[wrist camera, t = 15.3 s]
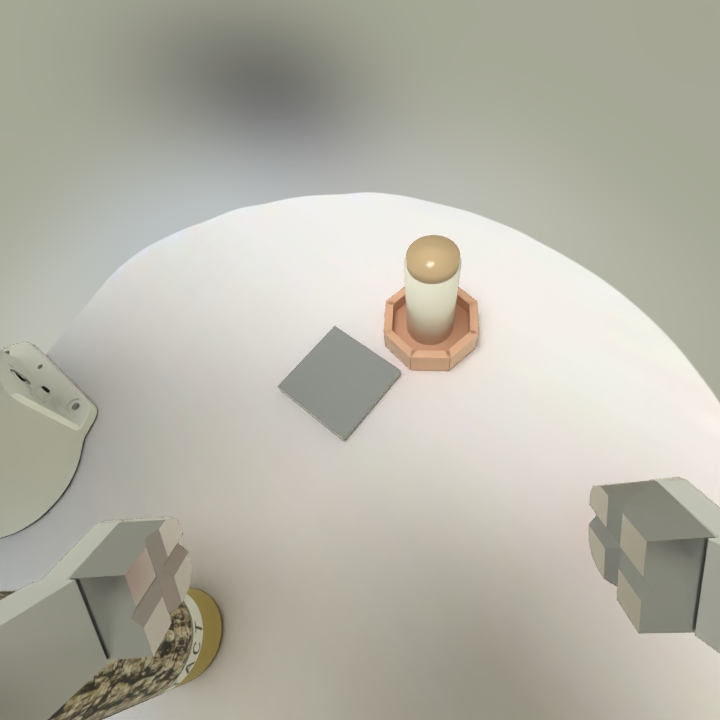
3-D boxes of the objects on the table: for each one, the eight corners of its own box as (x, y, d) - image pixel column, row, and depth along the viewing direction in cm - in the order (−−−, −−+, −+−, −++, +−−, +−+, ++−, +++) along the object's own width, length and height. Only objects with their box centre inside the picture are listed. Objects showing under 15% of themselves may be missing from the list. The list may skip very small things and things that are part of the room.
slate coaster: (280, 390, 45) (277, 386, 44) (336, 330, 48) (334, 326, 47) (344, 441, 42) (342, 438, 41) (400, 374, 45) (400, 370, 44)
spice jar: (397, 325, 46) (391, 255, 36) (429, 298, 47) (433, 224, 37) (429, 353, 44) (432, 288, 34) (462, 325, 45) (474, 254, 35)
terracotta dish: (368, 330, 47) (366, 316, 45) (430, 281, 49) (431, 265, 47) (429, 387, 44) (429, 375, 41) (493, 331, 46) (498, 317, 43)
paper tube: (130, 644, 36) (-321, 740, 14) (186, 570, 38) (-128, 553, 16) (184, 704, 34) (-256, 933, 12) (241, 622, 36) (-39, 684, 14)
